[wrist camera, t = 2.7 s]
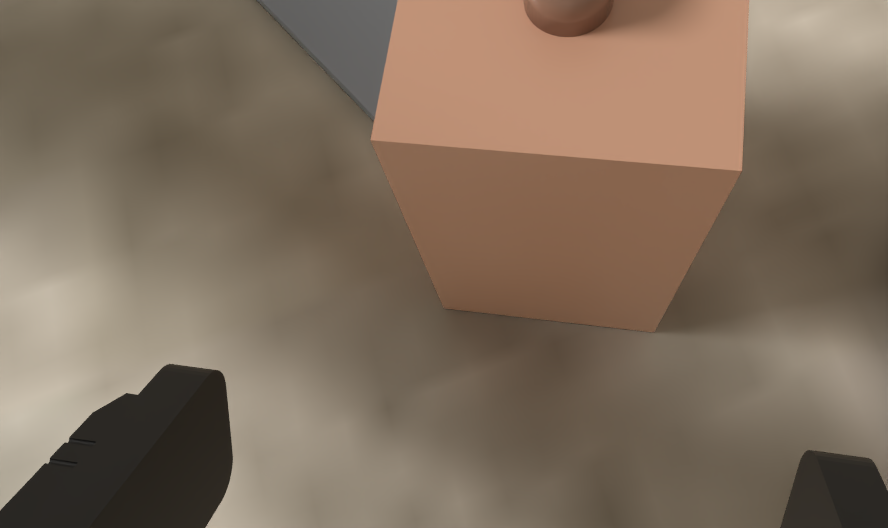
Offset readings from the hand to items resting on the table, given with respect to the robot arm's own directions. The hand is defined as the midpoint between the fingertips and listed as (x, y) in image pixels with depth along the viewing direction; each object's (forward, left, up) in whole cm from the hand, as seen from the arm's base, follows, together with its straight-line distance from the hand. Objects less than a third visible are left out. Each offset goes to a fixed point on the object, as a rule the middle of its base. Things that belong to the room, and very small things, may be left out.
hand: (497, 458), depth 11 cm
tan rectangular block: (-5, +6, -12) cm, 14 cm away
